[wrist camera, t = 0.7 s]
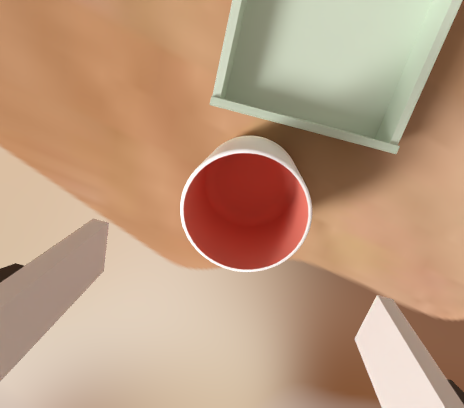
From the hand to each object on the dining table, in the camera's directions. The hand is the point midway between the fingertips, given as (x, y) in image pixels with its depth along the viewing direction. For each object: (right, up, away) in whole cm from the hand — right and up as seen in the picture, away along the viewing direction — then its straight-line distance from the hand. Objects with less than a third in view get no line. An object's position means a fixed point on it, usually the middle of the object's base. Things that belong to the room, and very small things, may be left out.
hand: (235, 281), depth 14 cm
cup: (+2, +6, +17) cm, 19 cm away
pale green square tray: (+8, +19, +12) cm, 24 cm away
